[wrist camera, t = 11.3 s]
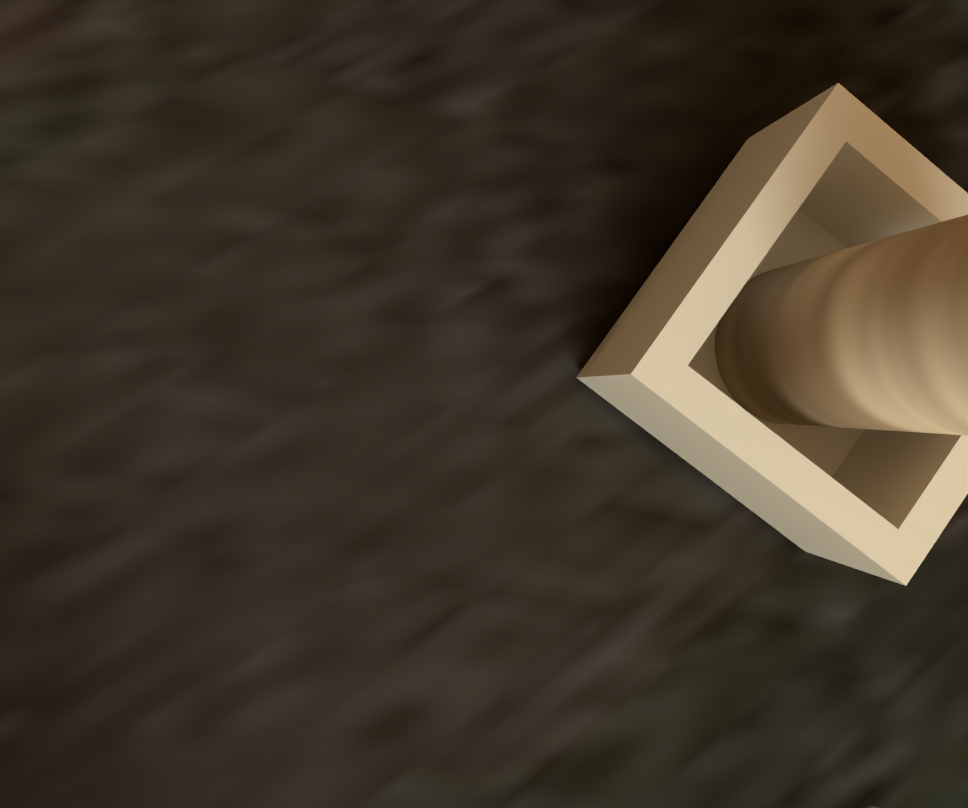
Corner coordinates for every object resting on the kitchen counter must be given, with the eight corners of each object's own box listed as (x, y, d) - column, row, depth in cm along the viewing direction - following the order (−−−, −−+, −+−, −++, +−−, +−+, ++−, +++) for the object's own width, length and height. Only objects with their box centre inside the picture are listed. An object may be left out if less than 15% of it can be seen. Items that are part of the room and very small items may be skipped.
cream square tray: (805, 551, 22) (905, 585, 18) (576, 377, 21) (630, 374, 17) (963, 318, 23) (1095, 302, 19) (747, 138, 22) (838, 82, 18)
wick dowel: (774, 455, 21) (1155, 507, 12) (684, 331, 21) (998, 273, 11) (888, 361, 22) (1348, 333, 12) (802, 236, 21) (1204, 102, 12)
